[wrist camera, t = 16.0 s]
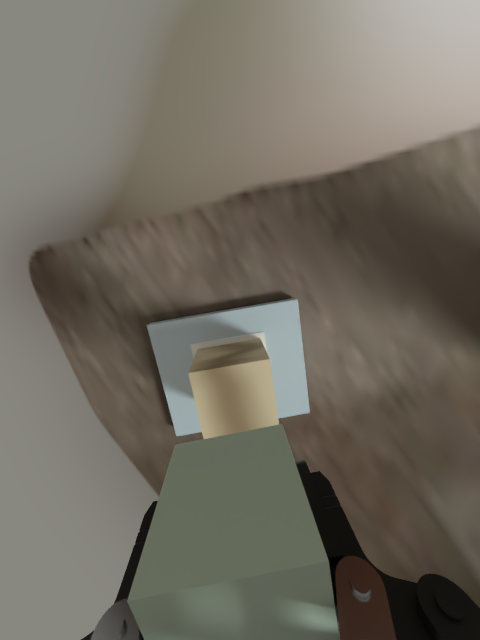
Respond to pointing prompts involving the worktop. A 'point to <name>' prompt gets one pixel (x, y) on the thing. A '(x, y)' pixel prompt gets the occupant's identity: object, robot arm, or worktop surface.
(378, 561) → the worktop surface
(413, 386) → the worktop surface
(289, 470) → the sage block
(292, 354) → the board
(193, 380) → the maple block
